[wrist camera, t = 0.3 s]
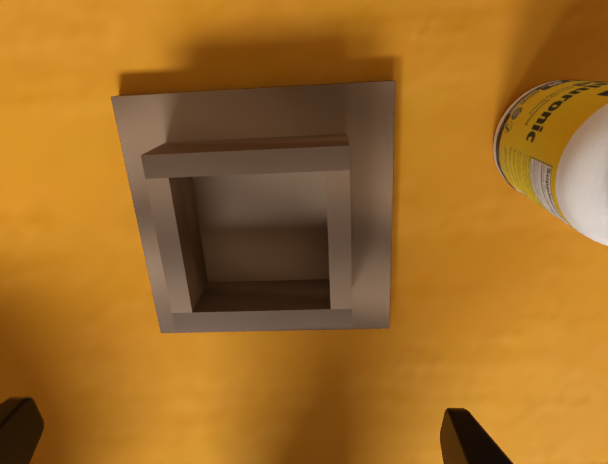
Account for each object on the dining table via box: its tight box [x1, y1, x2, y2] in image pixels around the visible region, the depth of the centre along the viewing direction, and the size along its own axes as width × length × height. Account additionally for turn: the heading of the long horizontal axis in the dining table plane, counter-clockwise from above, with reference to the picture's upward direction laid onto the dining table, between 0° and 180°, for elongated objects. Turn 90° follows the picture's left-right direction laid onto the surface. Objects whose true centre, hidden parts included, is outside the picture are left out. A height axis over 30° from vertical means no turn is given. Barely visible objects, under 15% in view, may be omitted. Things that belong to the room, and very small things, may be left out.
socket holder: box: [111, 80, 395, 333], centre depth 21 cm, size 13×13×4 cm
